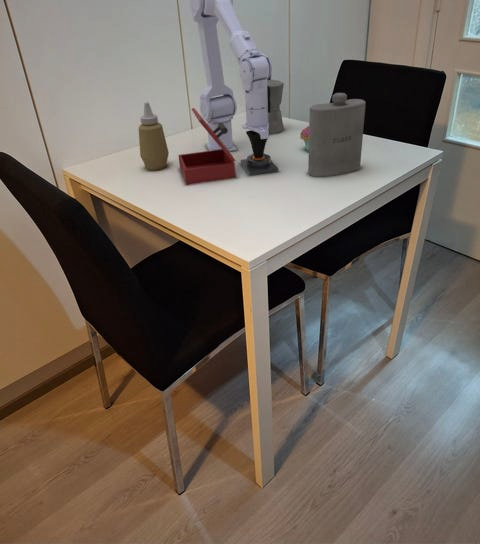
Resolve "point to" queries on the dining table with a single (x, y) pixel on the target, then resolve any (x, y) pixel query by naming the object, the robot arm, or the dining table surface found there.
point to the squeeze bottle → (152, 141)
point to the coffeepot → (274, 105)
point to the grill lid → (213, 133)
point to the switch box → (258, 165)
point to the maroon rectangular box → (206, 166)
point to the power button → (258, 158)
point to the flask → (336, 136)
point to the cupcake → (305, 137)
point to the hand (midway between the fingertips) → (258, 157)
